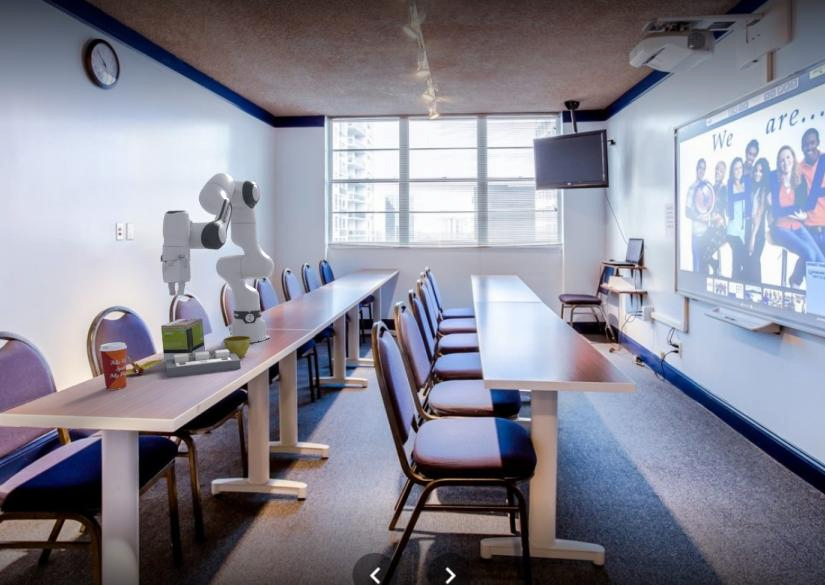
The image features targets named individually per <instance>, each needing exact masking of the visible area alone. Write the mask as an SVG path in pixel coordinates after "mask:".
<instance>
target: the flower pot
mask: <svg viewBox="0 0 825 585" xmlns="http://www.w3.org/2000/svg"><path fill="white" fill-rule="evenodd" d="M223 344H224V346H225V347H224V348H225V349H228V350H229V352H230V353H234V352H235V353H236V355H237V356H238V358H242V357H241V356H243V357H245V356H244V355H246V354H247V352H248V351H249V348H250V337H248V336H234V337H229V336H228V337H224V338H223Z"/></svg>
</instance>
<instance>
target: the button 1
mask: <svg viewBox="0 0 825 585" xmlns="http://www.w3.org/2000/svg"><path fill="white" fill-rule="evenodd" d="M174 362H175V363H181V362H189V356H188V353H186V354H177V355H174Z"/></svg>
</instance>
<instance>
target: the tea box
mask: <svg viewBox="0 0 825 585" xmlns="http://www.w3.org/2000/svg"><path fill="white" fill-rule="evenodd" d="M160 326H161V328H160V329H161V342H162V351H163V352H162V353H163V361H164V363H165V362H166V360H169V359H174V355H177V354H186V353H188V356H189V357H195V353H196V352H206V346H205V332H204V322H203V318H178V319H175V320H173V321H170V322H167V323H165V324H162V325H160Z"/></svg>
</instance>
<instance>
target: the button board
mask: <svg viewBox="0 0 825 585" xmlns="http://www.w3.org/2000/svg"><path fill="white" fill-rule="evenodd" d="M209 356H210V359H208V360H199V361H195V357H189V362H181V363H175V362H174V359H169V360H166V363H165V364H166V373H167V375H168V376H172V377H178V376H177V375H180V376H187V375H186V374H188V375H194V373H197V374H203V373H202V372H205V373H211V372H210V371H213V372H221V371H220V370H222V371H228V370H227V369H230V370H235V369H234V368H238V369H241V368H242V364H241V358H240V357H238V356H237V355H236V353H235V352H234V353H230V357H226V358H217V359H216V358H215V354H209ZM168 376H167V377H168Z"/></svg>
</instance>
